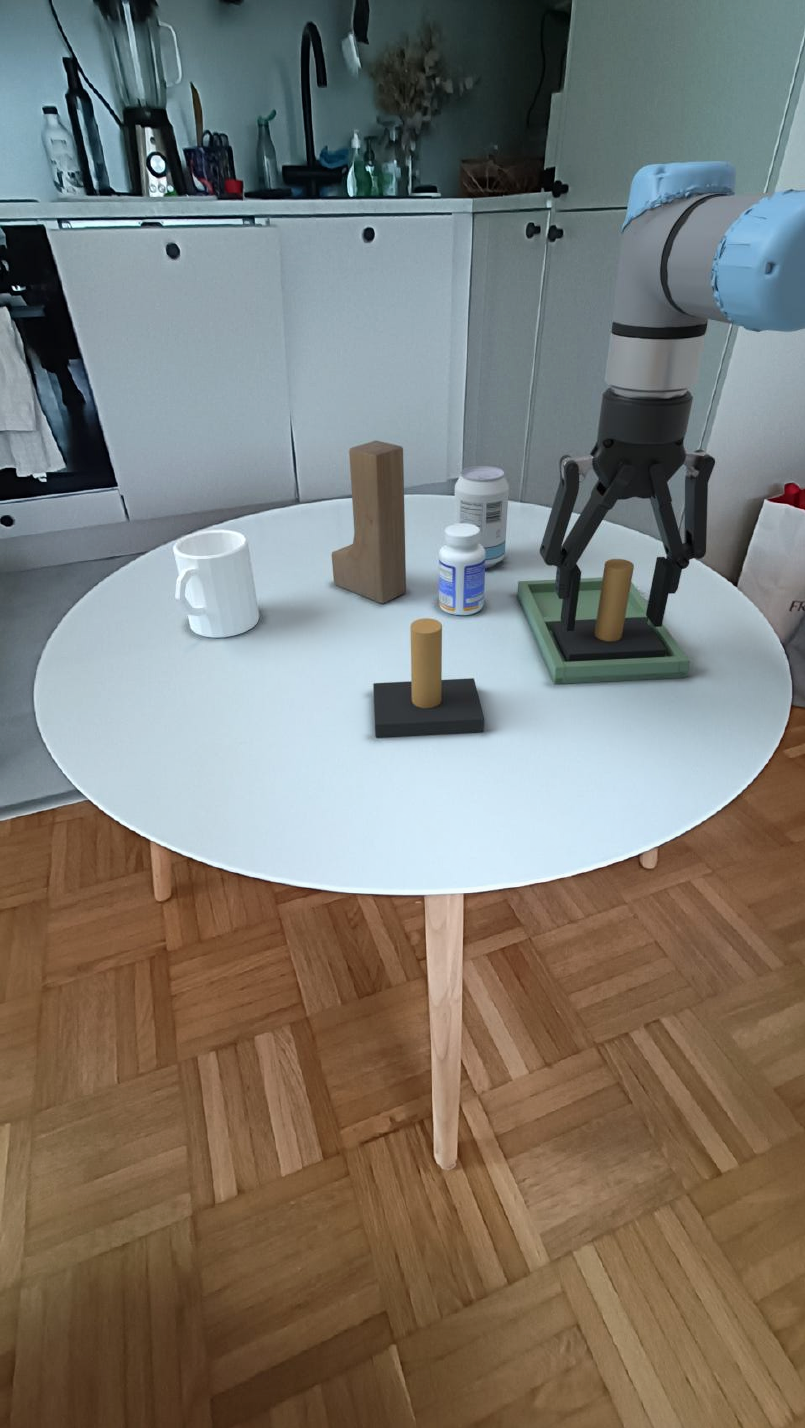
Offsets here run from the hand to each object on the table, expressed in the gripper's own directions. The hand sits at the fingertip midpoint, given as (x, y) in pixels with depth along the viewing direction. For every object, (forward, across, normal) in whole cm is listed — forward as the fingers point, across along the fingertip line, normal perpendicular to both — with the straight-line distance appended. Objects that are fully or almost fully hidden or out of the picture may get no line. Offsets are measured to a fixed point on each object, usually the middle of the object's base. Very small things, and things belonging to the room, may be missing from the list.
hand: (610, 622), depth 75 cm
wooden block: (+4, +25, -19) cm, 32 cm away
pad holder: (+4, 0, -5) cm, 6 cm away
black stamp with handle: (+3, 0, 0) cm, 3 cm away
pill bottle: (+4, +14, -13) cm, 19 cm away
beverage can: (+4, +10, -26) cm, 28 cm away
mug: (+4, +43, -10) cm, 44 cm away
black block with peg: (+4, +20, +9) cm, 22 cm away
